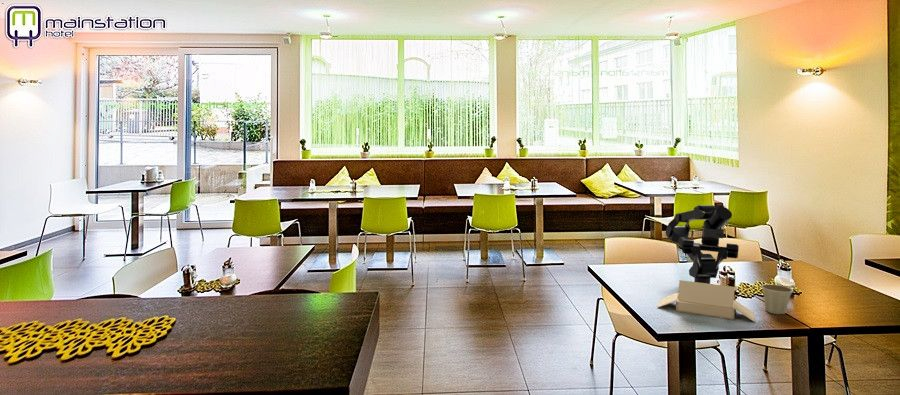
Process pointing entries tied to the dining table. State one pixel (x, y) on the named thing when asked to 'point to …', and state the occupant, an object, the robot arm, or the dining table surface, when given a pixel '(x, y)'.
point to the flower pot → (776, 298)
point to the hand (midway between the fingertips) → (708, 267)
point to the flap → (706, 293)
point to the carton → (707, 308)
